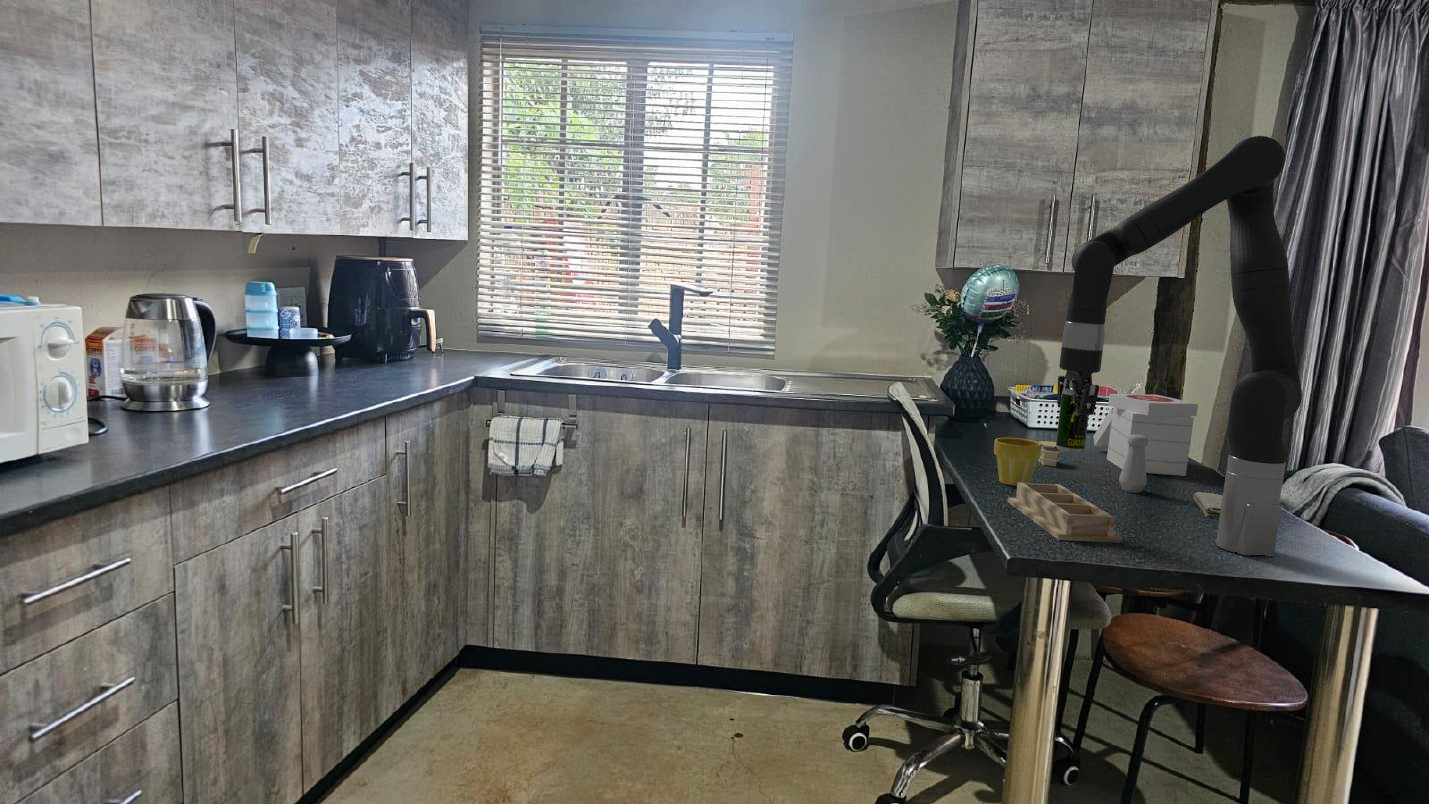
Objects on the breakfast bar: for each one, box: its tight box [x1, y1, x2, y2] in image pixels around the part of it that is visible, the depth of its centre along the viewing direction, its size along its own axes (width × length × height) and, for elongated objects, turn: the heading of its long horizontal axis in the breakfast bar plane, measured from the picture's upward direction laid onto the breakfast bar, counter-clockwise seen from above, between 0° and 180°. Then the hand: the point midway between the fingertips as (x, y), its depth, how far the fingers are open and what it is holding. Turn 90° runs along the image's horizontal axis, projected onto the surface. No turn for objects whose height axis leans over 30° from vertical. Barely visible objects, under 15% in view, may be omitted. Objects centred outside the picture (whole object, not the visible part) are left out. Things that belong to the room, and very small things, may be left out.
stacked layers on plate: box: [1037, 440, 1063, 467], centre depth 250 cm, size 10×9×6 cm
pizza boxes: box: [1093, 393, 1199, 477], centre depth 258 cm, size 19×30×18 cm, turn 176°
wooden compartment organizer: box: [1007, 482, 1123, 544], centre depth 193 cm, size 27×12×4 cm, turn 3°
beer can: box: [1055, 387, 1090, 453], centre depth 190 cm, size 5×5×12 cm
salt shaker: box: [1118, 434, 1148, 494], centre depth 224 cm, size 6×6×13 cm
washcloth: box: [1192, 491, 1223, 520], centre depth 210 cm, size 12×18×3 cm, turn 163°
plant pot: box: [993, 437, 1042, 487], centre depth 224 cm, size 10×10×10 cm
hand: (1071, 432), depth 191 cm, fingers closed on beer can, 5 cm apart
